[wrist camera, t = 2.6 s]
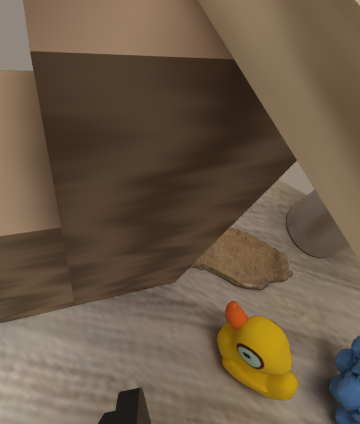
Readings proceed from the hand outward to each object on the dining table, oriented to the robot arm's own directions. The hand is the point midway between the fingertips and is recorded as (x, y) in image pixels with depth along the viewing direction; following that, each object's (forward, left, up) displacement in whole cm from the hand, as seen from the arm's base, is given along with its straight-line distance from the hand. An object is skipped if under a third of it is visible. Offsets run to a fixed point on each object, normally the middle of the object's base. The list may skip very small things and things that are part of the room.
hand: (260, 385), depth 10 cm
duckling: (-11, +1, -27) cm, 29 cm away
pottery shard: (-16, -10, -27) cm, 33 cm away
